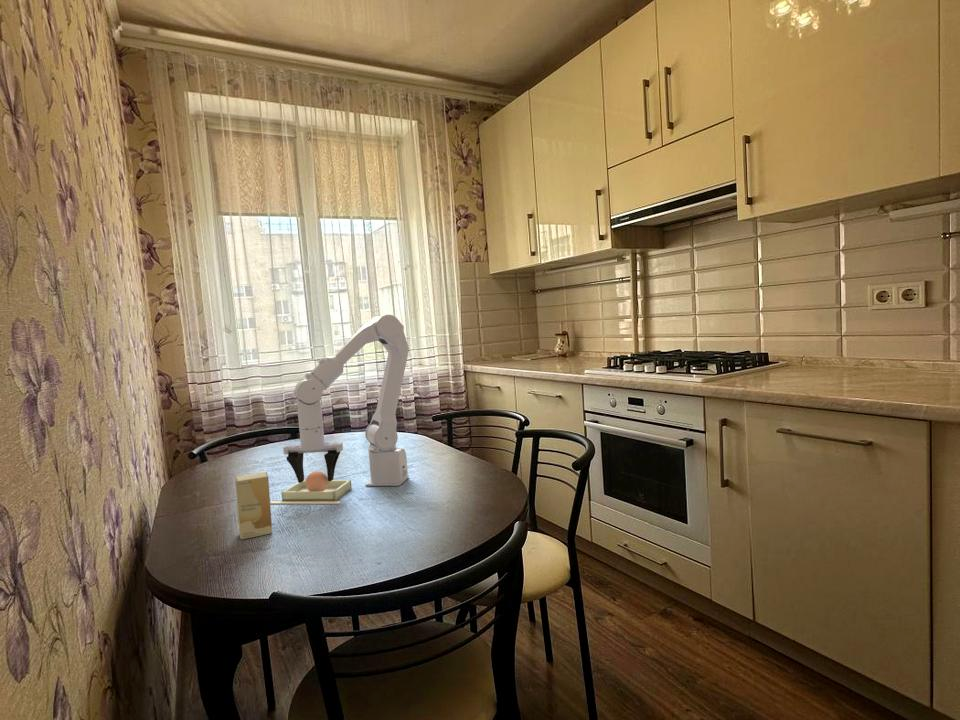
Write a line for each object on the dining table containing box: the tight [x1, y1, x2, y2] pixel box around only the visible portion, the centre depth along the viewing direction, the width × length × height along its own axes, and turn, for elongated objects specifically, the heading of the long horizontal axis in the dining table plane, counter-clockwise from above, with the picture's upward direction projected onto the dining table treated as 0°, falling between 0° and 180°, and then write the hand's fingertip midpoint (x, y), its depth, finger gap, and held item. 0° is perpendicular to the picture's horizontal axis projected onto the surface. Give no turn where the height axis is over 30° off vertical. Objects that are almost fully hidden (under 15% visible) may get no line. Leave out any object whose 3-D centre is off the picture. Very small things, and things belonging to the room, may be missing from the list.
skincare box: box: [234, 471, 273, 540], centre depth 113 cm, size 6×4×12 cm
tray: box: [280, 479, 352, 501], centre depth 138 cm, size 14×10×2 cm
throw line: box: [270, 500, 341, 505], centre depth 132 cm, size 18×1×1 cm, turn 79°
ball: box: [305, 470, 328, 491], centre depth 137 cm, size 6×6×6 cm
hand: (316, 480), depth 137 cm, fingers open, 7 cm apart
